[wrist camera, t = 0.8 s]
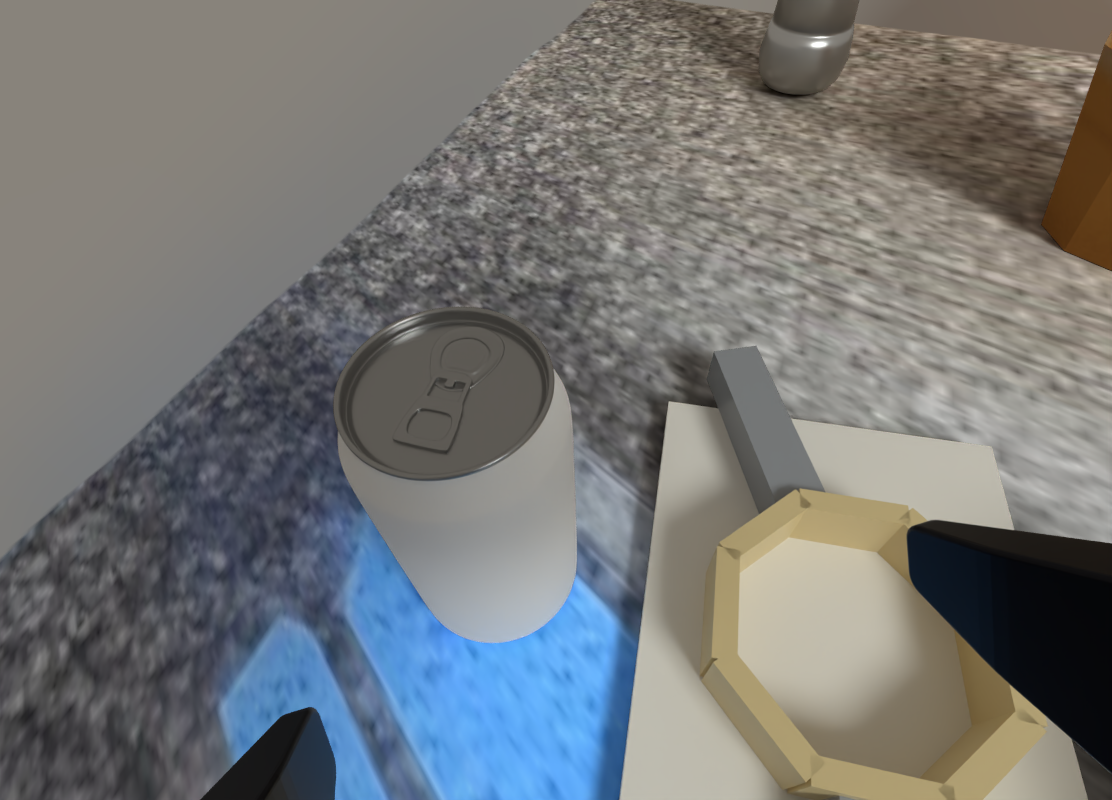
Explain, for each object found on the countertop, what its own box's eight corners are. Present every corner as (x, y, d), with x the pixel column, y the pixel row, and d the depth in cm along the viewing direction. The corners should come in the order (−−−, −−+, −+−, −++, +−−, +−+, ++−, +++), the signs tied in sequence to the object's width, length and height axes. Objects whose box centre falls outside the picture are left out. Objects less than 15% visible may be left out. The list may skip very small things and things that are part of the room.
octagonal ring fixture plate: (1198, 1315, 13) (1360, 1439, 10) (580, 1108, 15) (578, 1163, 13) (969, 416, 28) (1010, 368, 25) (671, 376, 30) (679, 328, 27)
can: (594, 514, 26) (598, 315, 16) (552, 668, 22) (526, 526, 13) (456, 482, 27) (385, 279, 18) (395, 621, 23) (263, 460, 14)
